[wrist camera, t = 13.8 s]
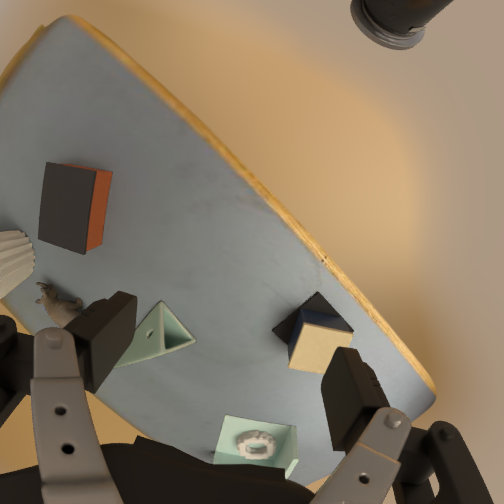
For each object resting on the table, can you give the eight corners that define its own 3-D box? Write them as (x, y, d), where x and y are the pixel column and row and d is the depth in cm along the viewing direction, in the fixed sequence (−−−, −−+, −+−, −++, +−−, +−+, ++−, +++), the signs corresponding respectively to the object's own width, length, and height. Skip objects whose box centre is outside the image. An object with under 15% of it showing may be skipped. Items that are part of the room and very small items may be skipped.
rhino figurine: (52, 266, 39) (28, 278, 33) (113, 327, 41) (95, 347, 35) (44, 284, 40) (21, 296, 34) (102, 342, 42) (84, 362, 36)
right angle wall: (296, 426, 44) (299, 459, 37) (276, 464, 47) (276, 493, 40) (225, 414, 44) (219, 447, 37) (214, 453, 47) (209, 483, 39)
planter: (136, 399, 44) (201, 365, 37) (103, 391, 40) (160, 353, 33) (136, 359, 50) (196, 315, 43) (105, 348, 46) (160, 300, 39)
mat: (272, 329, 40) (272, 330, 39) (318, 291, 38) (318, 292, 38) (309, 364, 41) (309, 365, 40) (353, 330, 39) (354, 331, 39)
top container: (300, 306, 38) (304, 324, 33) (344, 316, 38) (353, 334, 33) (285, 346, 40) (287, 367, 35) (328, 355, 40) (334, 376, 35)
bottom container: (67, 162, 35) (46, 162, 30) (114, 170, 35) (94, 171, 31) (58, 232, 38) (37, 239, 33) (102, 246, 38) (83, 255, 33)
